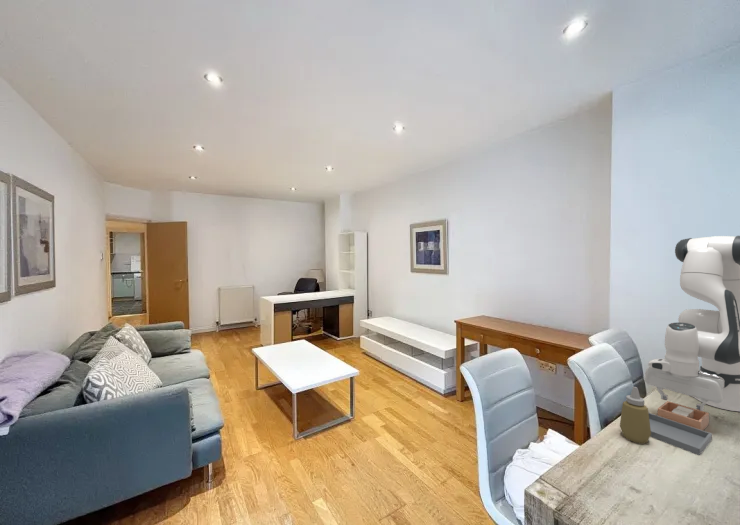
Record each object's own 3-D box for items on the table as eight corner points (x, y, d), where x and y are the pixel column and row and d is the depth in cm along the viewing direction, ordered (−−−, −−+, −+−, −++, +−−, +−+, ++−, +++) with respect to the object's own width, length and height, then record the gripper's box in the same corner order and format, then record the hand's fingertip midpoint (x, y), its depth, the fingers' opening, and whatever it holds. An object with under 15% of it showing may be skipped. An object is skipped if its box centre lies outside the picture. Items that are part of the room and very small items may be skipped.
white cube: (678, 415, 117) (678, 405, 116) (693, 420, 113) (693, 410, 113) (675, 418, 114) (675, 408, 114) (690, 423, 111) (690, 413, 111)
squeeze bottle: (657, 448, 98) (657, 393, 98) (628, 445, 100) (629, 391, 99) (640, 434, 106) (641, 383, 106) (614, 431, 107) (614, 381, 107)
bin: (667, 412, 120) (667, 400, 120) (708, 425, 111) (709, 413, 111) (657, 420, 115) (657, 408, 114) (700, 435, 105) (700, 422, 105)
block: (673, 419, 114) (674, 408, 114) (689, 423, 111) (689, 413, 111) (671, 422, 112) (671, 411, 112) (686, 427, 109) (687, 416, 109)
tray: (645, 418, 116) (645, 411, 116) (712, 441, 102) (712, 433, 101) (629, 430, 108) (629, 423, 108) (699, 457, 94) (699, 448, 94)
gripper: (726, 374, 104) (726, 414, 104) (648, 358, 121) (648, 392, 122) (722, 379, 101) (722, 419, 101) (642, 361, 118) (643, 396, 119)
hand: (681, 404), depth 112 cm, fingers open, 8 cm apart
